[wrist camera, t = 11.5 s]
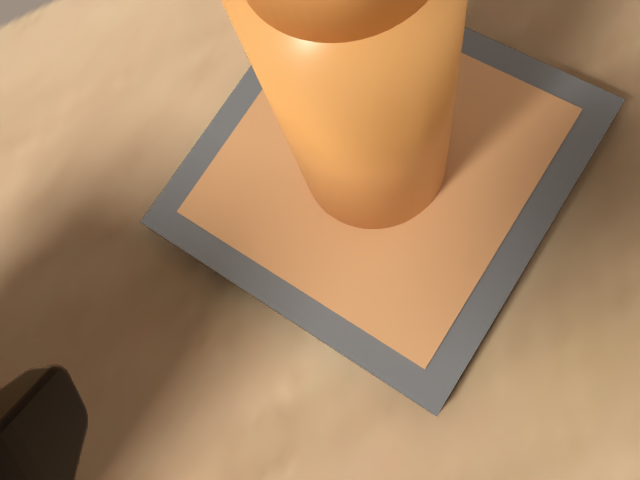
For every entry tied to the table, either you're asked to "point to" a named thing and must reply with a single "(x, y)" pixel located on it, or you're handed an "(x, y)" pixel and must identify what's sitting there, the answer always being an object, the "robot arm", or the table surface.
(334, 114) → the peach capped bottle
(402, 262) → the pad
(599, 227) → the table surface
